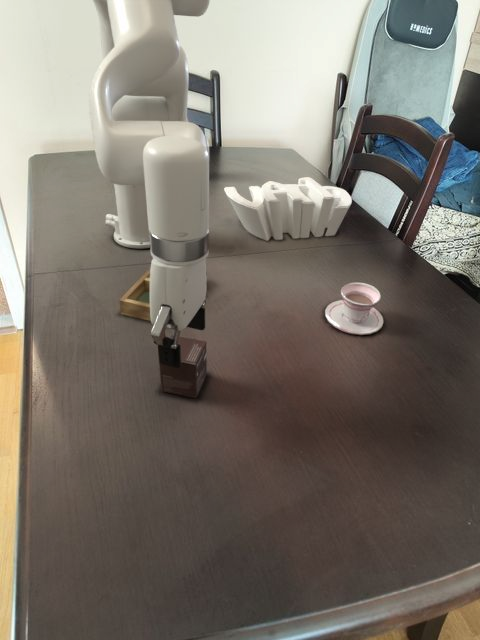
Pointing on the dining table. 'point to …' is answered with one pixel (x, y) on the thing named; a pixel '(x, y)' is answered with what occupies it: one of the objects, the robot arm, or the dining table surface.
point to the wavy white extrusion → (291, 209)
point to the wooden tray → (137, 299)
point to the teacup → (356, 310)
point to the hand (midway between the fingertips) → (183, 345)
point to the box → (186, 369)
